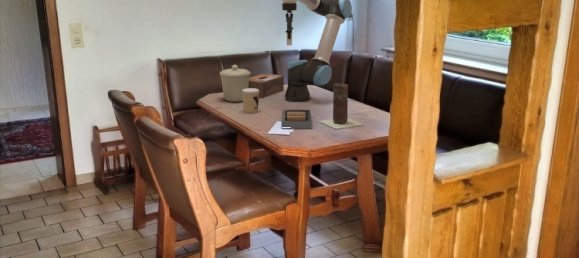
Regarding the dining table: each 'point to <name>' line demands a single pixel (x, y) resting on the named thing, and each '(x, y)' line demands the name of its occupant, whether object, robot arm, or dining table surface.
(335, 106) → the dark brown tall cylinder
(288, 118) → the offcut stack
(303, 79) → the robot arm
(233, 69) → the canister
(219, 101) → the dining table surface
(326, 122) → the mat
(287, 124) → the offcut rack
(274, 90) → the tissue box cover
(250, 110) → the coffee cup
